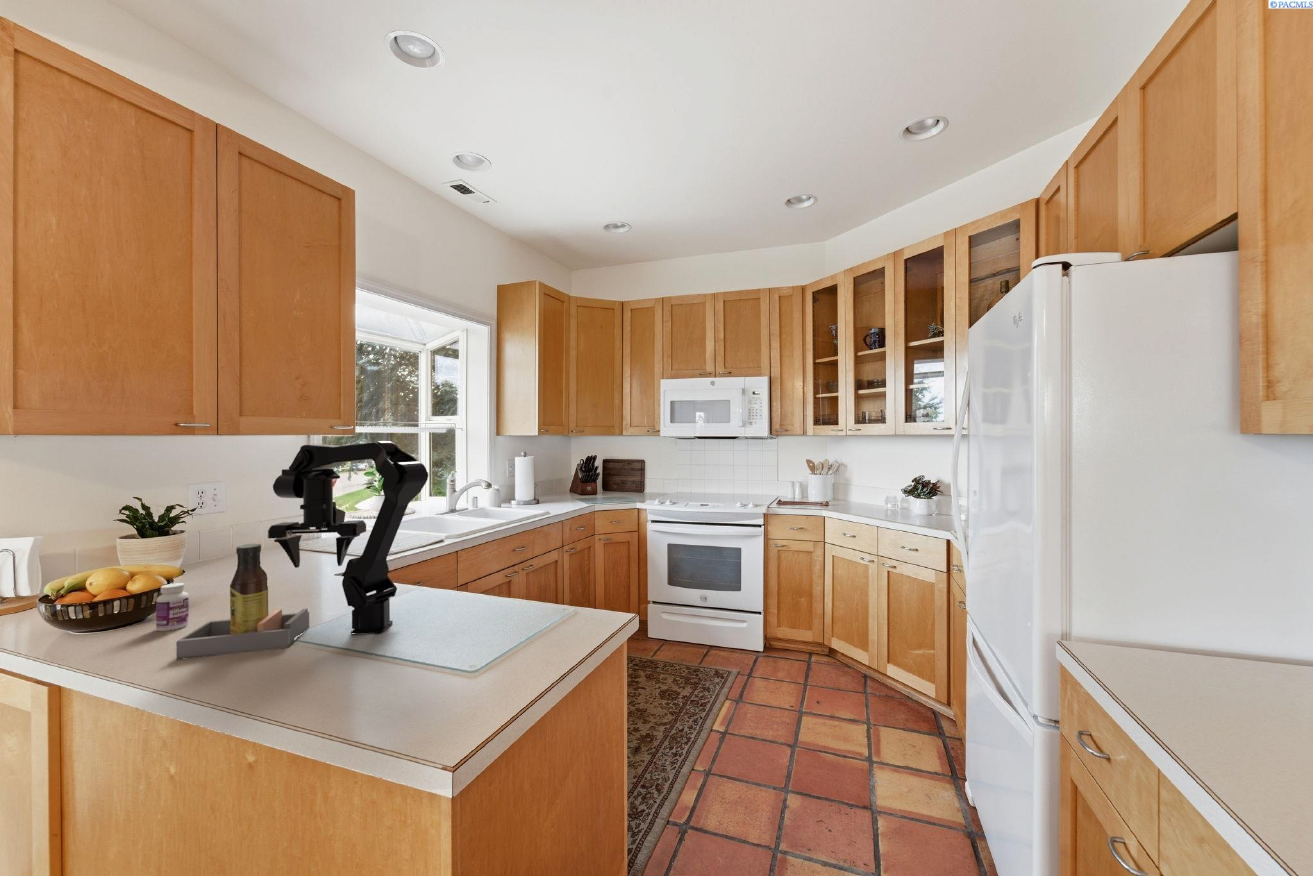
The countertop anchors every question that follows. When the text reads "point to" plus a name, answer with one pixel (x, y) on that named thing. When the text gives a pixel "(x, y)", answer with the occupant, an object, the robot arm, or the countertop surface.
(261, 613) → the sauce bottle
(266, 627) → the plate
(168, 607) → the pill bottle
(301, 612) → the tray
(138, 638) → the countertop surface
